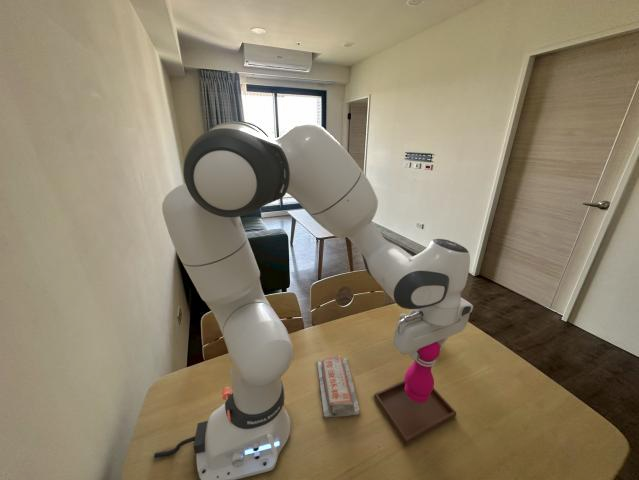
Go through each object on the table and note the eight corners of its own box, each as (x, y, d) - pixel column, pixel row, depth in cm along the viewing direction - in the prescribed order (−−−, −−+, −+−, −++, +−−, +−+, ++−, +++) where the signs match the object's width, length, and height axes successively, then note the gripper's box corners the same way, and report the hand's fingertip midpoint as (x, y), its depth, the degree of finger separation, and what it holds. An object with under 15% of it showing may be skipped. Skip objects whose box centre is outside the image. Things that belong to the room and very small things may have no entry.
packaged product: (361, 403, 66) (324, 407, 65) (360, 415, 68) (324, 419, 67) (347, 350, 83) (317, 352, 82) (346, 361, 85) (317, 363, 84)
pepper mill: (426, 381, 71) (440, 325, 63) (434, 406, 64) (451, 347, 57) (400, 378, 72) (410, 323, 64) (405, 403, 65) (418, 344, 57)
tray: (405, 445, 62) (406, 441, 61) (373, 398, 73) (374, 393, 72) (455, 417, 68) (456, 412, 67) (419, 377, 79) (420, 373, 78)
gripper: (410, 328, 51) (401, 377, 56) (478, 304, 59) (464, 349, 64) (390, 310, 56) (383, 356, 61) (455, 290, 64) (444, 333, 69)
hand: (425, 352), depth 63 cm, fingers closed on pepper mill, 6 cm apart
